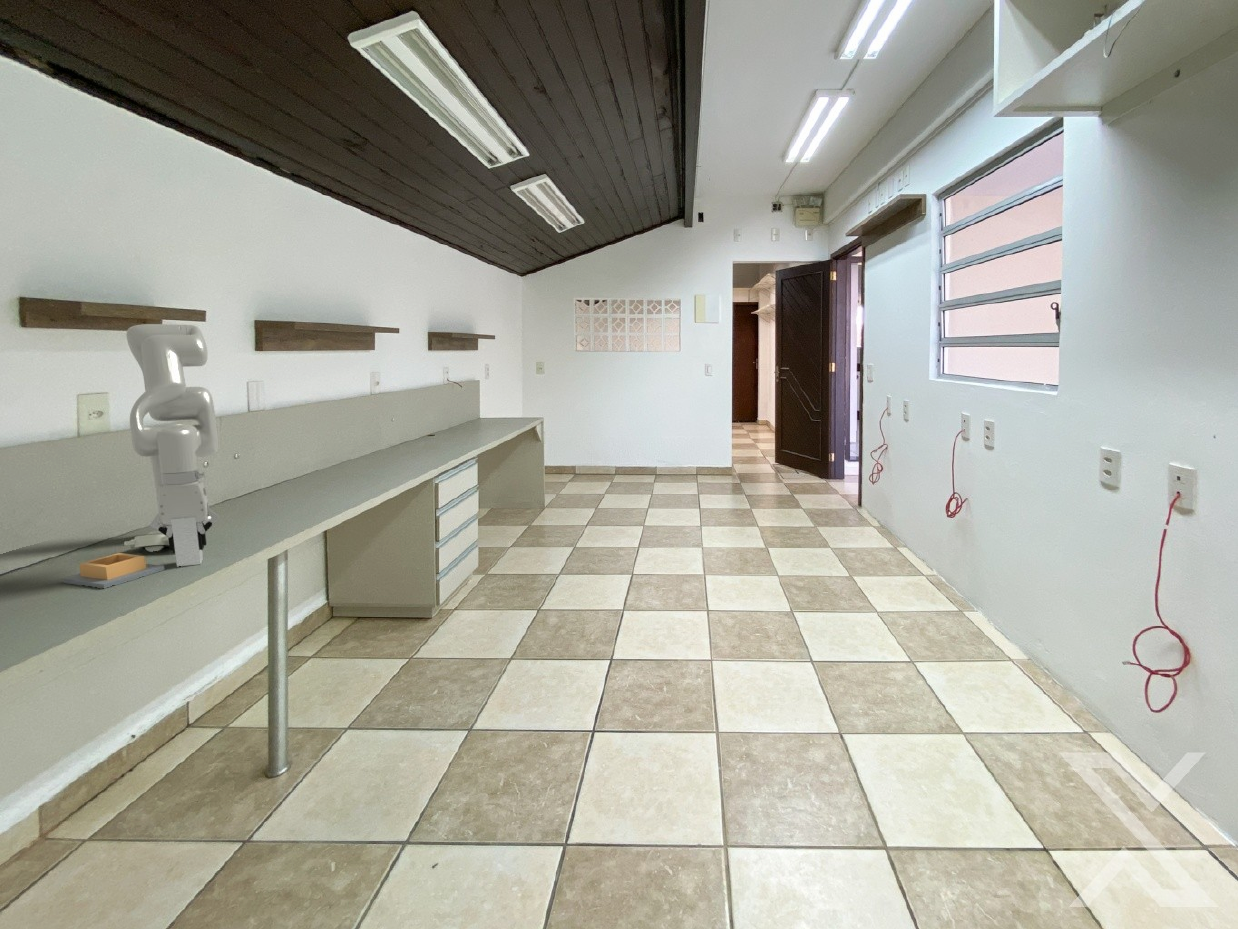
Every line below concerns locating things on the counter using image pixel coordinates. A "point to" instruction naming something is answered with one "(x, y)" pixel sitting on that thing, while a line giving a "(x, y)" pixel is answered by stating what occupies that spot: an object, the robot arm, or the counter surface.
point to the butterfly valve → (149, 541)
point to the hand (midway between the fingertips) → (188, 549)
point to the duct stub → (186, 541)
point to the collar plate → (112, 570)
